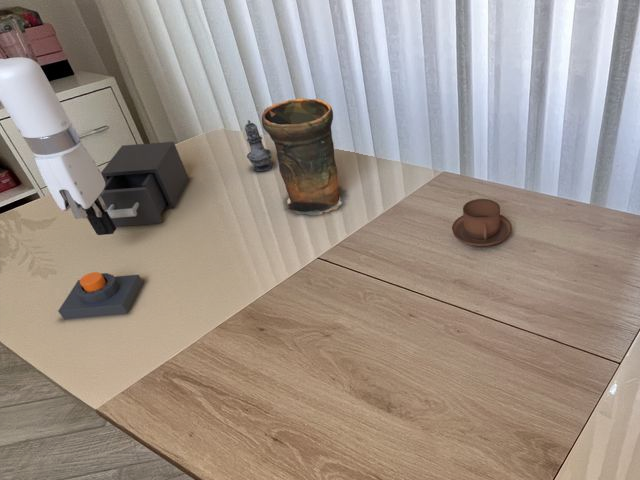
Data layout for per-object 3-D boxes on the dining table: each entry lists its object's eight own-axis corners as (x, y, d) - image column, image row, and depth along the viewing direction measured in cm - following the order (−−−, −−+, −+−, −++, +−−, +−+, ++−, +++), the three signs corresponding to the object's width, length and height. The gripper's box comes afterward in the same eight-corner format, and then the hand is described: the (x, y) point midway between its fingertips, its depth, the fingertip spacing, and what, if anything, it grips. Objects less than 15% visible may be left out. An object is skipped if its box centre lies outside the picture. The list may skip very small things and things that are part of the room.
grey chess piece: (246, 172, 135) (230, 124, 126) (258, 161, 139) (243, 113, 130) (268, 174, 134) (253, 125, 125) (279, 163, 138) (265, 115, 129)
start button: (81, 293, 97) (76, 285, 95) (89, 280, 99) (84, 273, 98) (102, 291, 97) (97, 283, 96) (109, 279, 99) (104, 271, 98)
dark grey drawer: (154, 233, 115) (137, 200, 109) (103, 238, 114) (84, 204, 109) (176, 193, 126) (162, 161, 121) (130, 197, 126) (113, 165, 120)
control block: (64, 320, 97) (51, 303, 94) (84, 288, 103) (72, 271, 101) (128, 314, 98) (117, 297, 95) (144, 283, 104) (134, 266, 101)
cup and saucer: (522, 241, 110) (523, 214, 105) (468, 258, 106) (467, 231, 102) (494, 213, 117) (494, 187, 113) (443, 228, 114) (441, 201, 110)
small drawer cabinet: (174, 209, 123) (156, 168, 117) (121, 213, 123) (100, 173, 116) (189, 180, 133) (173, 141, 126) (140, 183, 132) (121, 145, 126)
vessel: (357, 185, 128) (340, 97, 114) (338, 218, 118) (318, 125, 104) (299, 183, 130) (275, 96, 116) (275, 214, 120) (247, 123, 106)
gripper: (49, 123, 98) (101, 213, 111) (9, 161, 88) (71, 256, 101) (92, 120, 99) (139, 210, 112) (57, 157, 88) (113, 252, 101)
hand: (107, 232), depth 106 cm, fingers closed
